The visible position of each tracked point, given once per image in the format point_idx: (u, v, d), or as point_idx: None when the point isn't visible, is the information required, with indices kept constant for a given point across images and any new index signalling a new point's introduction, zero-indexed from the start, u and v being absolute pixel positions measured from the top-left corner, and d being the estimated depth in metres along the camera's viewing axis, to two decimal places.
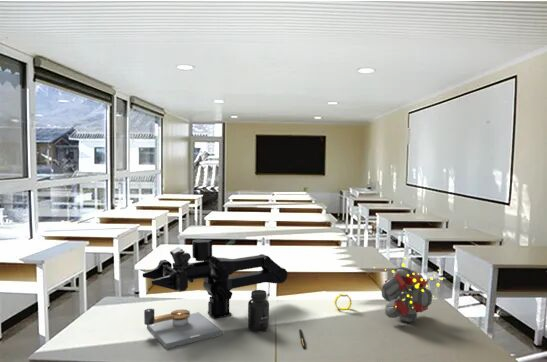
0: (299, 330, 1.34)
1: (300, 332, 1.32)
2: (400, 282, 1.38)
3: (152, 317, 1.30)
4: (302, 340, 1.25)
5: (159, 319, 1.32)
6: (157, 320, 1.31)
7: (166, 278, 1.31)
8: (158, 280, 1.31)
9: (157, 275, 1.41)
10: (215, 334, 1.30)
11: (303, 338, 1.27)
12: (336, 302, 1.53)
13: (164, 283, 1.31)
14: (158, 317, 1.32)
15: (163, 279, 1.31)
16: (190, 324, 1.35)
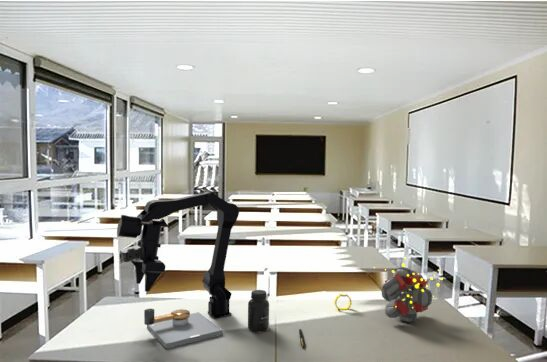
0: (299, 330, 1.34)
1: (300, 332, 1.32)
2: (400, 282, 1.38)
3: (152, 317, 1.30)
4: (301, 340, 1.25)
5: (159, 319, 1.32)
6: (157, 320, 1.31)
7: (147, 279, 1.31)
8: (147, 286, 1.31)
9: None
10: (215, 334, 1.30)
11: (302, 338, 1.27)
12: (336, 302, 1.53)
13: (151, 280, 1.32)
14: (158, 317, 1.32)
15: (147, 281, 1.31)
16: (190, 324, 1.35)
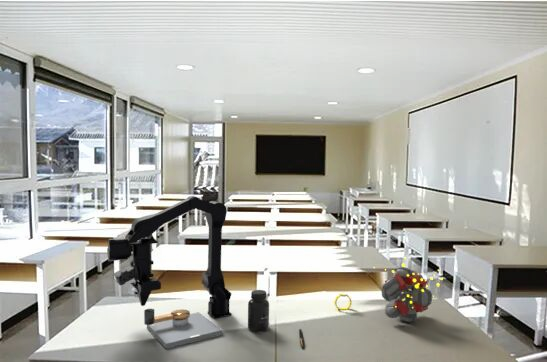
0: (299, 330, 1.34)
1: (300, 332, 1.32)
2: (400, 282, 1.38)
3: (152, 317, 1.30)
4: (301, 340, 1.25)
5: (159, 319, 1.32)
6: (157, 320, 1.31)
7: (141, 294, 1.35)
8: (142, 300, 1.36)
9: None
10: (215, 334, 1.30)
11: (302, 338, 1.27)
12: (335, 302, 1.53)
13: (146, 295, 1.36)
14: (158, 317, 1.32)
15: (141, 296, 1.35)
16: (190, 324, 1.35)
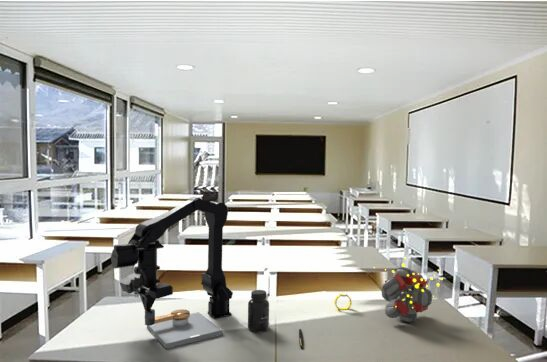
0: (299, 330, 1.34)
1: (299, 332, 1.32)
2: (400, 282, 1.38)
3: (153, 317, 1.30)
4: (300, 340, 1.25)
5: (160, 319, 1.31)
6: (158, 320, 1.31)
7: (147, 301, 1.31)
8: (147, 307, 1.31)
9: None
10: (215, 334, 1.30)
11: (301, 338, 1.27)
12: (336, 302, 1.53)
13: (151, 301, 1.32)
14: (158, 317, 1.32)
15: (147, 303, 1.31)
16: (190, 324, 1.35)
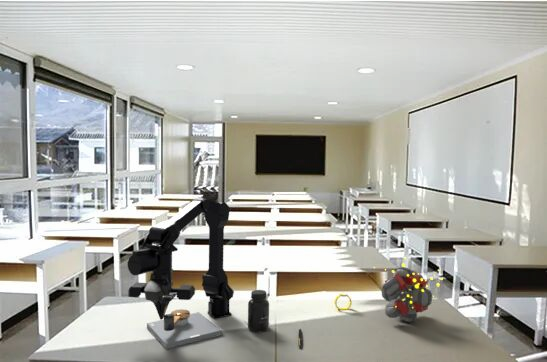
0: (299, 330, 1.34)
1: (299, 332, 1.32)
2: (400, 282, 1.38)
3: (174, 321, 1.27)
4: (299, 340, 1.25)
5: (175, 322, 1.29)
6: (174, 324, 1.29)
7: (165, 306, 1.26)
8: (164, 313, 1.26)
9: None
10: (215, 334, 1.30)
11: (301, 338, 1.27)
12: (336, 302, 1.53)
13: (166, 306, 1.27)
14: None
15: (165, 309, 1.26)
16: (190, 324, 1.35)
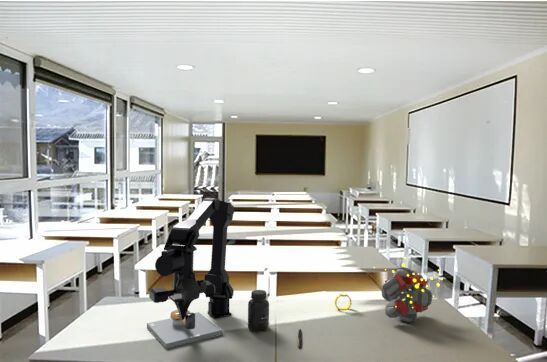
0: (299, 330, 1.34)
1: (299, 332, 1.32)
2: (400, 282, 1.38)
3: None
4: (298, 340, 1.25)
5: None
6: None
7: None
8: None
9: None
10: (215, 334, 1.30)
11: (300, 338, 1.27)
12: (336, 302, 1.53)
13: None
14: None
15: None
16: None
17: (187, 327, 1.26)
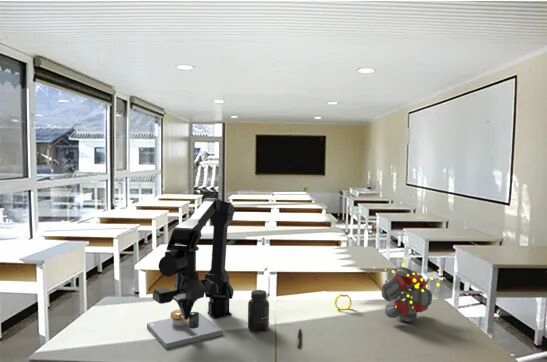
0: (299, 330, 1.34)
1: (299, 332, 1.32)
2: (400, 282, 1.38)
3: None
4: (298, 340, 1.25)
5: None
6: None
7: None
8: None
9: None
10: (215, 334, 1.30)
11: (300, 338, 1.27)
12: (336, 302, 1.53)
13: None
14: None
15: None
16: None
17: (191, 326, 1.27)
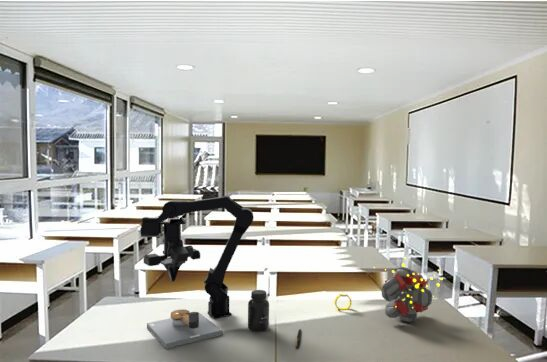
0: None
1: (298, 332, 1.32)
2: (400, 282, 1.38)
3: None
4: (296, 340, 1.25)
5: None
6: None
7: None
8: None
9: None
10: (215, 334, 1.30)
11: (299, 338, 1.27)
12: (336, 302, 1.53)
13: None
14: None
15: None
16: None
17: (191, 326, 1.27)
